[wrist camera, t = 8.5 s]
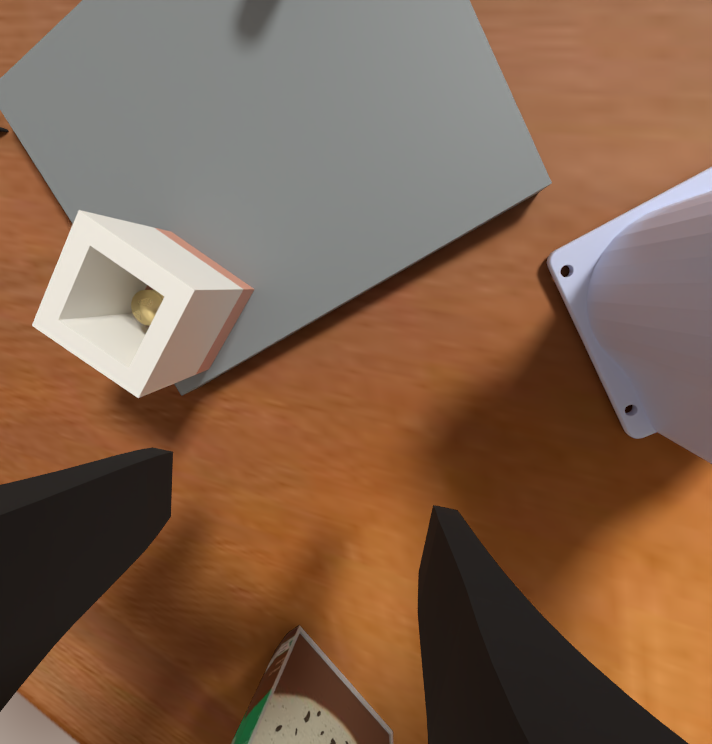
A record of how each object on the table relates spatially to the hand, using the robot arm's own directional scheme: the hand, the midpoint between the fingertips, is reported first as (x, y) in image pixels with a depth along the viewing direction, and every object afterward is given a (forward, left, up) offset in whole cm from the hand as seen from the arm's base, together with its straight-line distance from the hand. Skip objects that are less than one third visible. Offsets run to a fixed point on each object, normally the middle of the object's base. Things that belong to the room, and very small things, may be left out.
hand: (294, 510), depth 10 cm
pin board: (+13, -2, -10) cm, 16 cm away
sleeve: (+8, +4, -8) cm, 12 cm away
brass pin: (+8, +4, -8) cm, 12 cm away
